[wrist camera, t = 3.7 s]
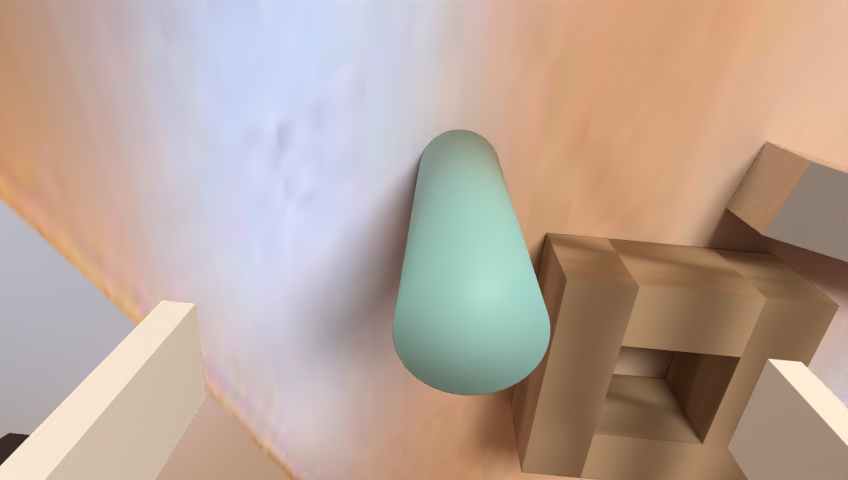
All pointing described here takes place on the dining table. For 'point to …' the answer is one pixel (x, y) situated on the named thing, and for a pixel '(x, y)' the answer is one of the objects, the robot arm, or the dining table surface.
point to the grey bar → (796, 200)
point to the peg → (467, 276)
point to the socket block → (656, 329)
